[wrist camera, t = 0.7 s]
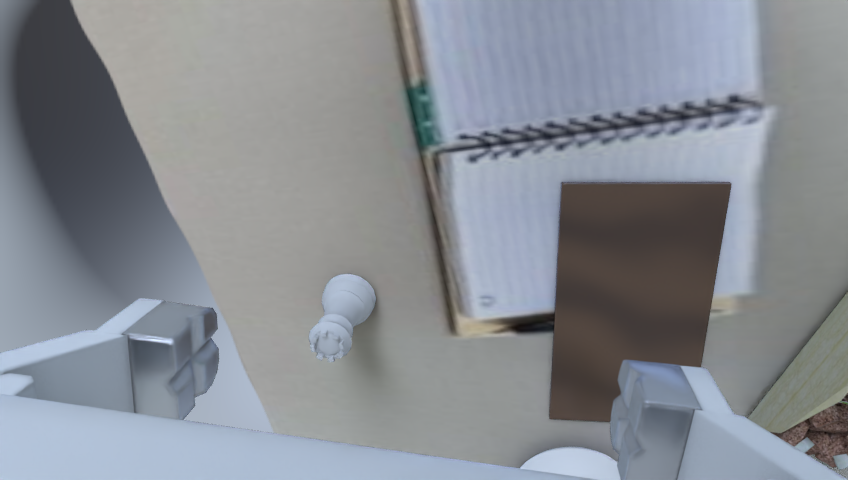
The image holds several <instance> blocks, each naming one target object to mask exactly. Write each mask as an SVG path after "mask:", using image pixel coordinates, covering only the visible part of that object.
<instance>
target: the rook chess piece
mask: <svg viewBox="0 0 848 480" xmlns="http://www.w3.org/2000/svg"><path fill="white" fill-rule="evenodd" d="M375 301H376V297H375V293H374V290H373V288H372V287H371V286H370V284H369V283H368V282H367V281H366V280H364V279H363V278H361V277H359V276H356V275H352V274H342V275H337V276H336V277H334V278H332V279H330V281H329V282H328V284H327V285H326V286H325V290H324V292H323V297H322V305H323V309H324V312H325V314H324V317H322V318H321V319H320V320H319V322H318V324H317V325H315V326H314V327H313V328H312V330H311V331H310V334H309V342H310V345H311V346H310V348H311V351H312V352H316V353H317V356H316V358H318V359H319V360H321V361H322V358H323V357H325V358H328V362H334V361H335V359H336V358H339V359H340V358H341V357H343V356H345V355H346V354H347V353H348V352H349V350H350V349H351V344H352V341H351V338H352V335H353V327H354V326H355V325H358V324H360V323H362V322H364V321H365V320H366V319H367V318H368V317H369V315H370V314H371V313H372V310H373V309H374V306H375Z"/></svg>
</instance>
